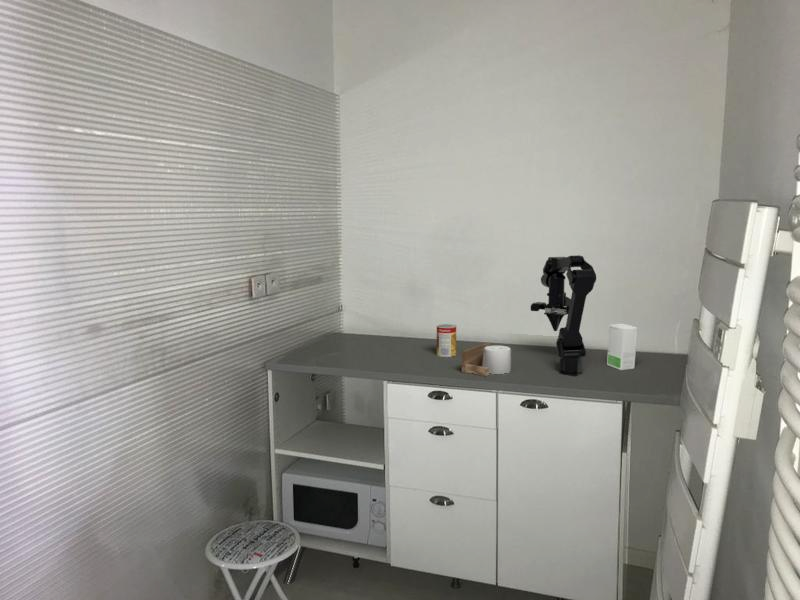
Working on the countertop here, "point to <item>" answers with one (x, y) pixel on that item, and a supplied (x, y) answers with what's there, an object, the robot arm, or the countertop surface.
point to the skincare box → (622, 346)
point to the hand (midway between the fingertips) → (555, 330)
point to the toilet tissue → (497, 359)
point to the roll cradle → (474, 360)
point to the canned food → (446, 340)
